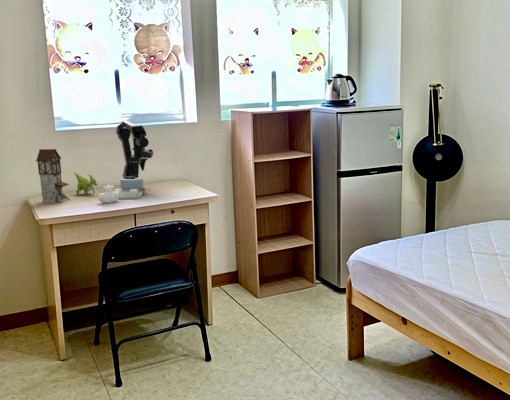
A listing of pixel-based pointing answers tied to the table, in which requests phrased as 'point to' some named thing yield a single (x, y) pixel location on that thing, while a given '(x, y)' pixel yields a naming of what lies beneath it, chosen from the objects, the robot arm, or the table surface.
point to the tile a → (118, 190)
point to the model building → (51, 176)
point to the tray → (129, 195)
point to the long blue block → (131, 184)
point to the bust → (108, 195)
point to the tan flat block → (138, 190)
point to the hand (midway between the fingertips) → (140, 171)
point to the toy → (85, 184)
